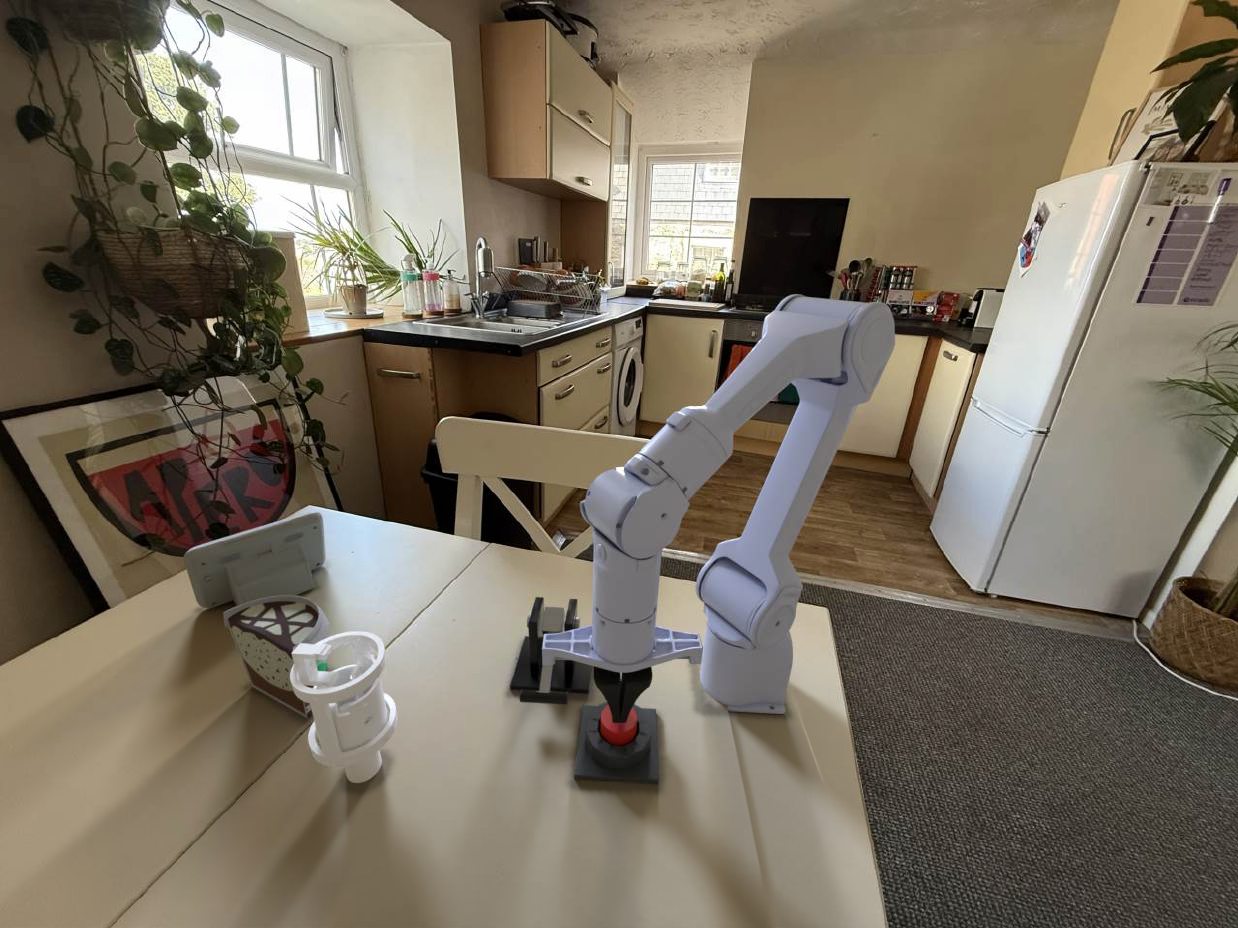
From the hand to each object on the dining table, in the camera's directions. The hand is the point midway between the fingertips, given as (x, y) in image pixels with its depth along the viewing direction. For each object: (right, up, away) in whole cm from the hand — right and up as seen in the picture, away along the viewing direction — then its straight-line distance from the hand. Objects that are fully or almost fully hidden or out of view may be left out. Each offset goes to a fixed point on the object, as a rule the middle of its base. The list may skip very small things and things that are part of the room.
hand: (619, 714), depth 49 cm
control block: (0, -4, +2) cm, 5 cm away
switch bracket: (-8, 0, +11) cm, 14 cm away
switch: (-8, +3, +7) cm, 11 cm away
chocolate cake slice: (-36, -1, +8) cm, 37 cm away
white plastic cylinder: (-24, -5, -1) cm, 25 cm away
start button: (0, -2, +1) cm, 2 cm away
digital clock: (-50, +6, +23) cm, 56 cm away
